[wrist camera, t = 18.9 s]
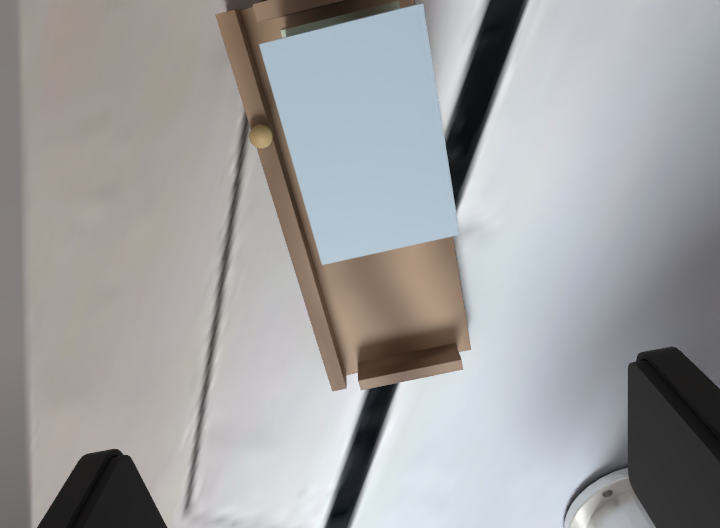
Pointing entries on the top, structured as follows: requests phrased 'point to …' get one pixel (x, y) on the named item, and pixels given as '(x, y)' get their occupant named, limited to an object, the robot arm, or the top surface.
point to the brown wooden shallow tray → (357, 275)
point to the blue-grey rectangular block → (365, 133)
